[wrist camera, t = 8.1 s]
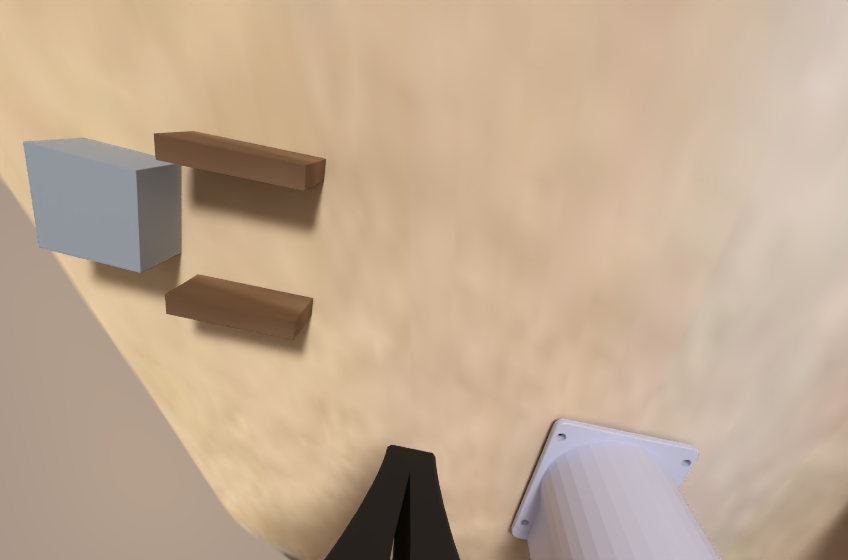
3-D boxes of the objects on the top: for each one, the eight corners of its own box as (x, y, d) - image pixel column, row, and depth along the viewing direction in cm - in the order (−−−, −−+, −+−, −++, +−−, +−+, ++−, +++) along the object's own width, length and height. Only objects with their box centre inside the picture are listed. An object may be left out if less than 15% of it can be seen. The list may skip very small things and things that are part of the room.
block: (183, 251, 20) (140, 272, 18) (96, 229, 20) (39, 247, 17) (183, 162, 19) (135, 170, 16) (88, 137, 18) (23, 141, 16)
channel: (311, 315, 21) (293, 340, 19) (198, 291, 21) (166, 313, 19) (325, 158, 18) (306, 165, 15) (193, 131, 18) (154, 133, 15)
